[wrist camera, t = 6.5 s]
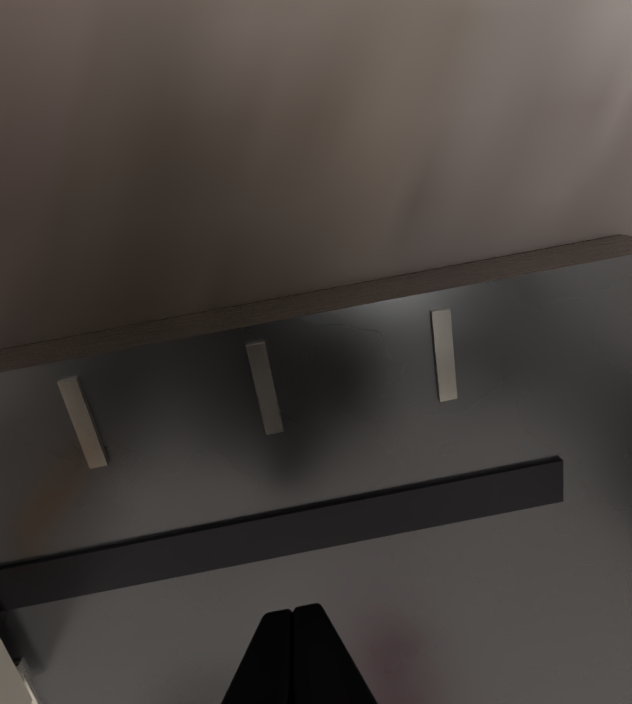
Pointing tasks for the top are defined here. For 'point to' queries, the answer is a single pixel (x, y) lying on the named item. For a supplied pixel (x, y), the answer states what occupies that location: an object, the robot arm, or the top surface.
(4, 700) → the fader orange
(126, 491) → the mixer panel
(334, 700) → the robot arm
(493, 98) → the top surface
